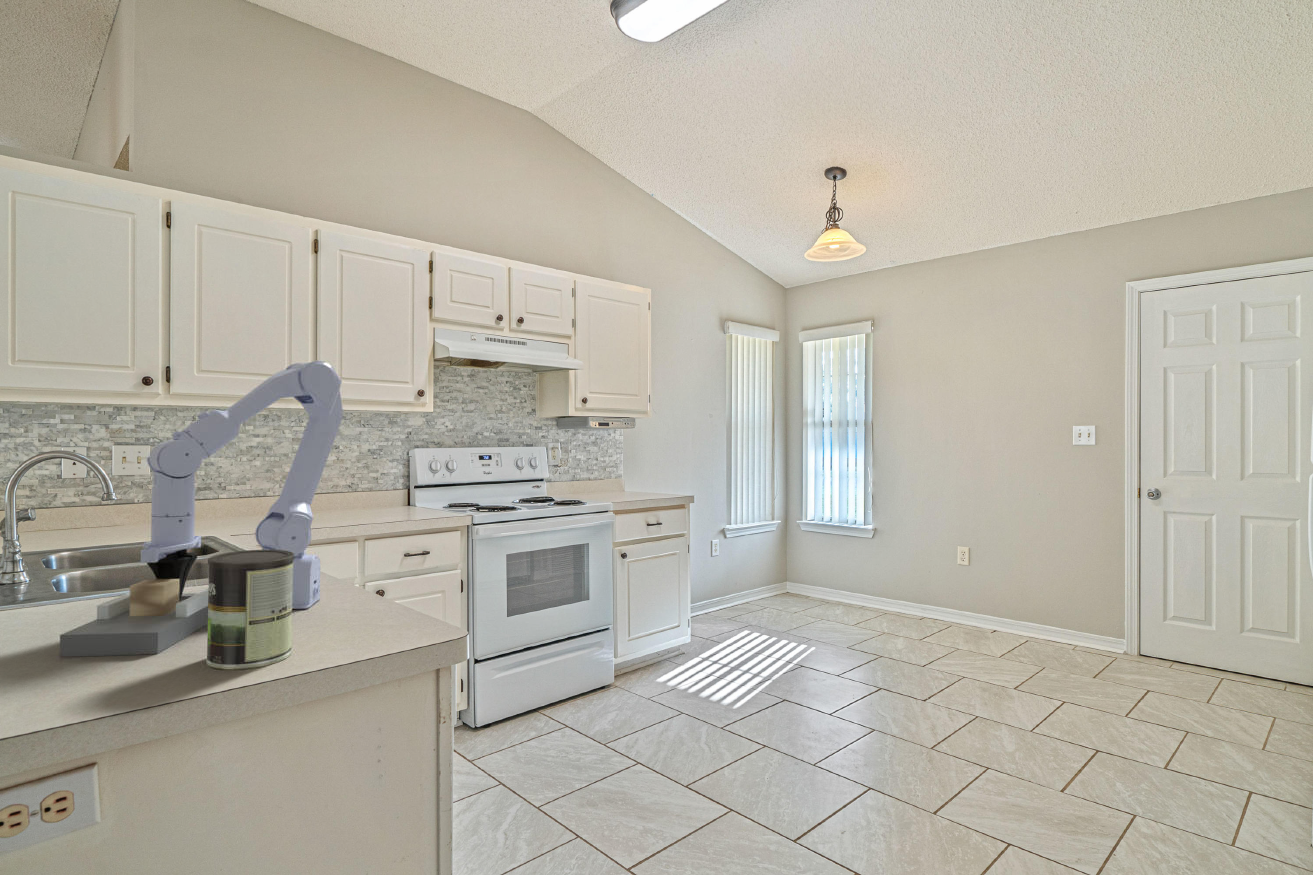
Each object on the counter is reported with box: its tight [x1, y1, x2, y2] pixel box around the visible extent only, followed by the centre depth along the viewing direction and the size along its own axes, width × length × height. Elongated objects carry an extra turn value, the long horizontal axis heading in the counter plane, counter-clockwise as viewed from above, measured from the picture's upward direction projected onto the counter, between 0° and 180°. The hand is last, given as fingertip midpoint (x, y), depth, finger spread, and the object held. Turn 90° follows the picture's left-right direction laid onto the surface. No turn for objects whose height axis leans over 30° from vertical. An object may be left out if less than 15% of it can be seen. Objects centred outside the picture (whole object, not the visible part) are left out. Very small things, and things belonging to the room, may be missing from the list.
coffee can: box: [205, 549, 294, 671], centre depth 95 cm, size 10×10×14 cm
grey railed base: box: [59, 588, 209, 658], centre depth 107 cm, size 12×24×5 cm, turn 10°
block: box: [129, 578, 180, 616], centre depth 106 cm, size 5×5×5 cm
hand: (171, 599), depth 111 cm, fingers closed
